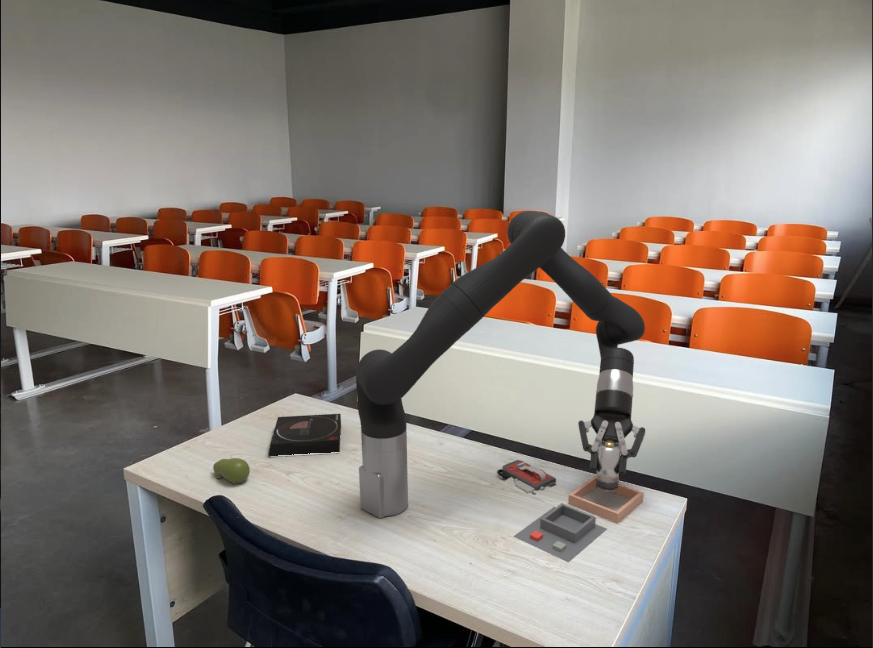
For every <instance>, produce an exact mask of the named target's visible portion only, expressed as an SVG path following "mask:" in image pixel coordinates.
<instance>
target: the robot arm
mask: <svg viewBox="0 0 873 648" xmlns="http://www.w3.org/2000/svg"><path fill="white" fill-rule="evenodd" d="M506 235H507V240H508V242H509V244H510V245H508V247H507V248H506V249H504V250H503V251H502V252H501V253H500V254H498V255H497V256H495V257H494V258H492V259H491V260H490V261H487V262H485V263H484V264H481V265H480V266H477V267H475V268H473V269H472V270H469V271H468V272H465V273H464V274H463V275H460V276H459V277H458V278H456V279H455V280H454V281H453V282H452V283H451V284H449V286H447V287H446V288H444V290H443V291H442V292H441V293H440V294H438V295H437V297H436V298H435V299H434V300H433V301H432V302H431V304H430V305H429V307H428V309H427V310H426V312H425V313H424V315H423V317H422V318H421V320H420V322H419V324H418V326H417V327H416V329H415V330H414V332H413V333H412V334H411V335H410V336H409V338H407V339H406V340H405V342H404V343H402V344H400V346H399V347H398V348H396V349H395V350H394V351H392V352H390V351H388V350H385V349H373V350H370V351H368V352H367V353H366V354H364V355H363V356H362V357H361V359H360V360H359V362H358V363H357V366H356V372H355V382H356V385H355V387H356V399H357V400H356V401H357V410H358V417H359V420H360V421H359V422H360V431H361V432H360V436H361V437H360V438H361V461H362V463H361V464H362V465H360V466H359V467H358V481H359V482H358V483H359V502H360V509H361V510H364V511H365V512H367V513H369V514H371V515H373V516H375V517H376V518H379V519H382V518H384V517H389V516H391V517H392V516H394V515H395V516H396V515H399V514H401V513H403V512H404V511H405V510H406V509H407V507H408V506H409V481H408V477H409V476H408V473H409V472H408V443H407V442H408V437H407V434H408V431H407V425H408V424H407V416H406V413H405V409H404V405H403V400H402V398H403V397H404V396H406V395H407V394H408V393H409V391H410V390H411V389H412V388H413V387H414V385H416V383H417V382H418V381H419V380H420V379H421V377H423V376H424V374H425V373H426V372H427V371H428V369H430V368H431V366H433V364H434V363H435V362H436V361H437V360H439V358H441V357H442V356H443V355H444V354H445V353H446V352H447V351H448V350H449V349H450V348H452V347H453V345H455V343H457V342H458V341H459V340H460V339H461V338H463V336H464V335H465V334H466V333H468V332H469V331H470V330H471V329H472V328H474V327H475V325H477V323H479V322H480V321H481V320H482V319H483V318H484V317H485V316H486V315H487V314H488V313H489V312H490V311H491V310H492V309H493V308H494V307H495V306H496V305H497V304H498V303H500V302H501V301H502V300H503V299H504V298H505V297H507V295H509V293H510V292H511V291H512V290H513V289H514V288H516V287H517V286H518V284H520V283H521V282H522V281H523V280H525V279H526V278H527V277H528V276H530V275H531V274H533V273H534V272H535V271H536V270H538V269H540V270H541V271H543V273H545V274H546V275H547V276H548V277H549V278H550V279H552V280H553V282H554V283H555V284H556V285H557V286H558V287H559V288H560V289H561V290H562V291H563V292H564V293H565V294H566V296H568V298H570V299H571V300H572V302H573V303H574V304H575V305H576V306H577V308H579V309H580V310H581V311H582V313H583V314H584V315H585V316H586V317H588V319H590V320H592V321H594V322H597V323H596V327H595V335H596V340H597V344H598V350H599V351H598V352H599V355H600V356H599V357H600V363H599V373H598V374H599V375H598V379H597V383H596V391H595V402H594V410H593V411H594V412H593V416H592V418H591V420H589V421H584V420H579V421H578V431H579V434H580V440H581V445H582V446H581V447H582V450H583V451H584V452H587V453H589V454H590V460H589V469H590V470H592V473H593V474H597V461H598V444H599V443H601V442H605V441H613V442H615V443H617V444H619V445H620V446H621V451H620V461H619V475H618V476H619V477H623V475H625V474H626V472H627V462H628V460H629V458H636V457H637V455H638V453H639V450H640V449H641V446H642V443H643V442H644V441H643V440H644V438H645V436H646V428H645V427H643V426H642V427H638V426H636V425H634V423H633V421H632V413H633V412H632V411H633V410H632V409H633V397H634V380H633V379H634V378H633V377H634V364H635V356H634V354H633V353H632V352H631V351H630V350H628V349H627V348H623V347H619V346H620V345H623V344H627V343H632V342H635V341H636V342H637V340H640V339H641V338H643V336H644V335H645V330H646V325H645V321H644V319H643V316H642V315H641V314H640V313H639V312H638V311H637V310H636V309H635V308H634V307H632V306H630V305H629V304H627V303H626V302H624V301H623V300H622V299H619V298H618V297H615V296H614V295H612V294H611V292H610V291H609V290H608V289H607V288H606V287H605V285H603V283H602V282H601V281H600V280H599V279H598V278H597V277H596V276H595V275H594V274H592V272H590V271H589V270H588V269H587V268H585V267H584V266H582V265H581V264H580V262H577V260H575V259H574V258H573V257H571V256H570V255H569V254H568V253H567V252H566V251H565V250H564V249H563V248H562V247H563V245H564V243H565V239H566V228H565V225H564V223H563V222H562V220H560V218H557V217H556V216H554V215H552V214H548V213H544V212H540V211H535V210H525V211H524V210H523V211H522V212H519V213H517V214H516V215H514V216H513V217H512V219H510V221H509V223H508V227H507V234H506ZM590 428H592V429H593V431H594V433H596V436H595V439H594V442H593V443H592V444H590V443H589V439H588V435H587V433H589V431H590ZM631 432H632V433H633V437H634V442H633V444H632V446H631V448H629V449H628V448H627V445H626V437H627V436H628V435H629V434H630V433H631Z"/></svg>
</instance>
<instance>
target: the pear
mask: <svg viewBox="0 0 873 648" xmlns="http://www.w3.org/2000/svg"><path fill="white" fill-rule="evenodd" d="M212 469H213V472H214V477H215V478H216V477H220V478H224V479H225V480H227V482H230V483H232V484H240V483H243V482H245V481H246V480H247V479H248V478H249V476H250V473H251V470H250V466H249V464H248V462H247V461H246V460H245V459H243V458H240V457H238V458H236V457H231V458H222V459H220V460H218V461H216V462H215V463H214V464H213V468H212Z"/></svg>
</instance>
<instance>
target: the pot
mask: <svg viewBox="0 0 873 648" xmlns="http://www.w3.org/2000/svg"><path fill="white" fill-rule="evenodd" d="M596 476H597V474H595V475H594V476H593V477H591V478H589V480H587V481H586V482H584V483H583V484H581V485H580V486H579V487H577V488H576V489H575V490H573V491H572V492H570V493H569V494H568V498H567V499H568V501H567V502H568V503H567V504H568V505H569V506H570V505H571V507H574V508H576V509H577V508H578V509H580V510H581V511H584V512H585V511H586V513H591V515H596V516H597V517H600V518H602V519H605V520H607V521H610V522H613V523H615V524H619V522H621V521H622V520H623V519H624V518H625V517H627V516H628V515H629V514H630V513H631V512H633V511H634V510H635V509H636V508H637V507H638V506H639V505H640V504H642V503H643V502H644V492H643V491H640V490H637V489H635V488H632V487H630V486H626V485H623V484H621V483H619V485H618V489H617V490H616V491H613V492H612V493H614V494H617V495H620V496H621V497H624V498H628V499H629V500H628V501H627V502H626V503H624V505H622V506H621V507H619V509H617V510H614V509H611V508H608V507H606V506H604V505H601V504H598V503H595V502H593V501H590V500H588V499H585V498H583V497H584V496H585V495H587V494H588V493H590V491H592V490H593V489H595V488H597V487H596Z"/></svg>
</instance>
